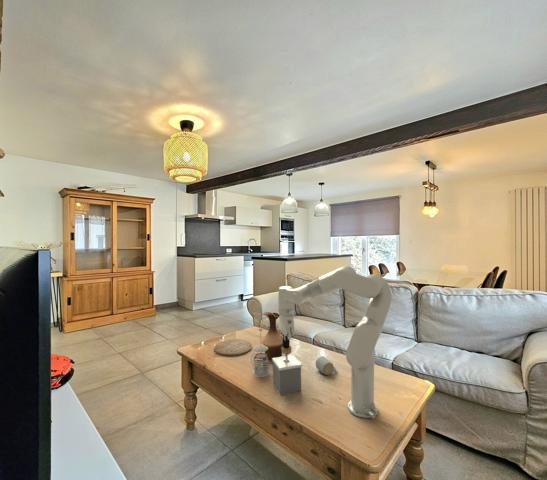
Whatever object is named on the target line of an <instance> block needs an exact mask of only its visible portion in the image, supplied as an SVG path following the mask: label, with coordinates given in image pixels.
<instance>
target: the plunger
mask: <svg viewBox="0 0 547 480" xmlns="http://www.w3.org/2000/svg"><path fill="white" fill-rule="evenodd" d="M281 352H282V355H283V354H284V356H285V363H287V362H288V356H289V354H290V355H291V354H292V346H291V345H290V347H289V348H283V346H282V347H281Z"/></svg>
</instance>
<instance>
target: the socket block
mask: <svg viewBox="0 0 547 480" xmlns="http://www.w3.org/2000/svg"><path fill="white" fill-rule="evenodd" d="M271 361H272V384H273V385H274V388H276V389H275V390H276V391H277V392H278V394H279V395H280V396H281V395H286V394H292V393H295V392H296V393H297V392H301V391H302V367H303V365H302V363H301V362H300V361H299V360H298V358H297V357H296V356H295V355H293V354H290V355H289V354H288V362H287V363H285V355H284V356H283V355H282V357H276V358H272V360H271Z"/></svg>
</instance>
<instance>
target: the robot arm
mask: <svg viewBox="0 0 547 480" xmlns="http://www.w3.org/2000/svg"><path fill="white" fill-rule="evenodd" d="M340 289H341V290H343V291H346V292H348V293H350V294H354V295H356V296H359V297H360V298H365V299H369V301H368V303H367V306H366V308H365V309H366V310H365V312H364V314H363V317H362V318H361V319H360V321H359V322H358V323H357V325H356V326H355V328H354V329H353V332H352V335H351V338H350V341H349V343H348V346H347V349H346V352H345V358H346V361H347V363H348V364H349V366H350V367H351V369H350V370H351V371H350V373H351V374H350V375H351V377H350V379H351V380H350V381H351V382H350V383H351V384H350V387H351V388H350V390H351V391H350V392H351V393H350V394H351V397H350V398H351V399H350V400H349V401H347V409H348V411H349V412H350V413H351V414H353V415H354V416H355V417H358V418H363V419H370V418H371V419H375V418H376V416H378V414H379V411H378V406H377V405H376V404H375V387H374V385H375V359H376V358H375V356H376V350H375V349H376V345H377V343H378V341H379V338H380V336H381V335H382V332H383V327H384V324H385V322H386V319H387V317H388V313H389V310H390V308H391V303H392V291H391V288H390V285H389V283H388V281H387V280H386V279H385V278H384V277H382V276H381V275H379V274H374V273H373V274H369V275H366V276H364V275H361V274H360V273H357V271H356V270H355V268H353V267H352V266H350V265H345V266H341V267H339V268H337V269H335V270H333V271H330V272H327V273H326V274H323V275H321V276H319V277H318V278H317V279H315V280H313V281H310V282H308V283H306V284H304V285H302V286H299V287H296V288H293V286H291V285H290V286H289V285H283V286H279V288H278V291H277V292H278V295H277V296H278V313H279V315H280V316H279V317H278V326H279V331H280V333H281V332H282V339H283V348H289V347H290V346H291V344H290V340H291V339H292V336H294V335H295V321H294V320H295V319H294V305H295V306H296V305H298V306H299V305H302V304H303V303H305V302H308V301H309V300H311V299H314V298H316V297H318V296H321V295H325V294H326V295H327V294H331V293H333V292H336V291H339V290H340Z"/></svg>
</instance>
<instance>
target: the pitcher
mask: <svg viewBox="0 0 547 480" xmlns="http://www.w3.org/2000/svg"><path fill="white" fill-rule="evenodd" d="M261 315H263V316H266V317H267V318H268V322H269V328H268V331H267V333H266V334H265V335H264V336H263V337H260V339H259V342H260V344H261V345H265V346H267V347H268V350H267V351H264V353H265V354H267V357H268V360H271V361H272V358H276V357H282V356H283V353H282V352H281V347H282V346H283V339H282V332H281V331H280V332H279V331H278V329H277V320H279V316H280V315H279V312H275V311H273V312H270V311H267V312H262V314H261Z"/></svg>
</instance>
